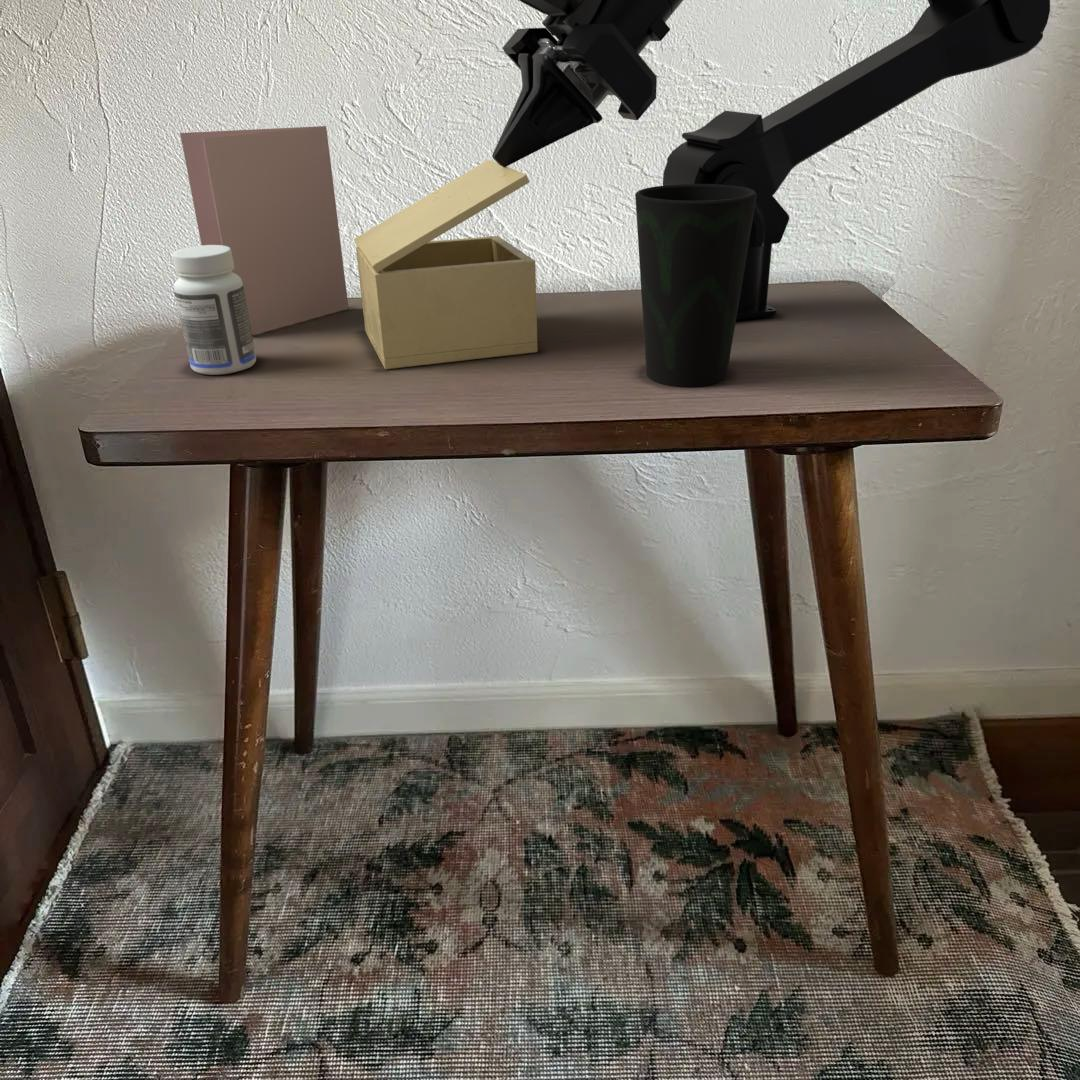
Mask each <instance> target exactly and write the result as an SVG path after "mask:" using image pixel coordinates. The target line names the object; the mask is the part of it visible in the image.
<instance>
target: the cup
mask: <svg viewBox="0 0 1080 1080" xmlns="http://www.w3.org/2000/svg"><path fill="white" fill-rule="evenodd" d="M634 197H635V198H634V199H635V214H636V228H637V229H636V230H637V245H638V260H639V274H640V276H639V277H640V291H641V292H640V293H641V306H642V323H643V337H644V340H643V341H644V355H645V372H646V377H648V379H650V380H651V381H653V382H656V383H658V384H661V385H666V386H672V387H681V388H682V387H683V388H696V387H705V386H710V385H715V384H718V383H720V382H722V381H724V380H725V379H726V378H727V376H728V370H729V364H730V358H731V351H732V348H733V347H732V346H733V341H734V335H735V328H736V324H737V323H736V322H737V320H736V317H737V311H738V305H739V299H740V293H741V287H742V281H743V275H744V269H745V263H746V257H747V251H748V245H749V239H750V233H751V227H752V221H753V215H754V209H755V203H756V197H757V194H756V193H755V191H754V190H752V189H749V188H745V187H739V186H731V185H718V184H678V185H664V186H663V185H657V186H650V187H644V188H643V189H639V190H638V191H636V192H635V193H634Z"/></svg>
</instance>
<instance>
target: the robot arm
mask: <svg viewBox="0 0 1080 1080" xmlns="http://www.w3.org/2000/svg"><path fill="white" fill-rule="evenodd" d="M518 1H519V2H521V3H523V4H524V5H527V6H528V7H531V8H532V9H534V10H535V11H538V12H539V13H542V14H544V15H545V16H546V17H545V18H544V20H543V21H542V22H541V24H542V25H543V26H544V27H527V28H517V29H516V30H515V31H514V32H513V34H512V35H511V36H510V38H509V39H508V41H506V43H504V45H503V46H502V51H503V52H504V54H505V55H506V56H507V57H508V58H509V59H510V61H512V63H514V65H515V66H516V67H517V68H518V69H519V70H520V76H521V90H520V92H519V94H518V98H517V100H516V102H515V105H514V107H513V109H512V111H511V113H510V115H509V117H508V120H507V122H506V124H505V126H504V128H503V130H502V132H501V135H500V137H499V139H498V141H497V143H496V146H495V148H494V150H493V152H492V155H491V156H492V159H493V161H494V162H497V163H498V164H499V165H500V166H502V167H508V166H511V165H512V164H515V163H516V162H518V161H520V160H522V159H524V158H526V157H528V156H530V155H532V154H534V153H536V152H538V151H540V150H542V149H543V148H545V147H548V146H550V145H552V144H554V143H556V142H558V141H560V140H562V139H564V138H566V137H568V136H570V135H572V134H574V133H576V132H579V131H581V130H583V129H585V128H587V127H589V126H591V125H593V124H598V123H600V122H601V121H602V120H603V115H601V113H600V112H599V111H598V110H597V108H599V106H600V105H601V104H602V103H603V101H604V100H605V99H606V97H607V96H615V98H617V99H618V100H619V101H620V104H619V107H618V110H617V113H618V114H619V115H620V116H621V117H622V119H625V120H630V121H631V120H632V121H638V120H640V118H641V117H642V116H643V115H644V114H645V112H646V111H647V110H648V109H649V107H650V106H651V105H652V104H653V103H654V102H655V101H656V99H657V88H658V87H657V86H658V85H657V83H658V76H657V75H656V74H655V72H654V71H653V70H652V69H651V67H650V66H649V65H648V63H646V61H645V60H644V59H643V58H642V56H641V55H640V54H641V52H643V51H644V49H645V48H646V47H647V45H648V44H649V43H650V42H661V41H663V39H664V38H665V37H666V35H667V34H668V33H669V32H670V31H671V28H670V27H669V25H668V24H667V23H666V22H667V21H668V20H670V17H671V16H673V14H674V12H675V11H676V10H677V9H678V8H679V7H680V5H681V4H682V3H683V2H684V0H518ZM927 2H928V5H929V6H928V7H926V8H925V9H924V11H923V13H922V14H921V15H920V16H919V18H918V19H917V21H916V22H915V24H914V26H913V27H912V29H910V31H909V32H907V33H905V35H903V36H902V37H900V38H898V39H897V40H895V41H893V42H891V43H889V44H887V45H886V46H884V47H883V48H881V49H879V50H877V51H876V52H873V54H871V55H869V56H867V57H866V58H864V59H861V60H860V61H858V62H857V63H855V64H853V65H852V66H850V67H848V68H847V69H845V70H843V71H842V72H840V73H838V74H837V75H835V76H832V77H831V78H830V79H828V80H826V81H825V82H823V83H821V84H819V85H818V86H815V87H814V88H813V89H811V90H809V91H807V92H806V93H804V94H802V95H800V96H798V97H797V98H795V99H794V100H791V101H790V102H789V103H787V104H785V105H783V106H782V107H779V109H777V110H775V111H773V112H771V113H770V114H768V115H766V116H764V117H763V115H762V114H758V113H749V112H741V111H732V110H724V111H722V112H721V113H719V114H718V115H715V116H714V117H713V118H712V119H711V120H710V121H709V122H708V123H706V124H704V125H703V126H702V127H701V128H698V129H696V130H694V131H688V132H687V131H686V132H683V133H682V134H681V138H682V139H684V140H685V141H684V142H682V143H680V144H679V145H678V146H676V148H675V149H673V150H672V151H671V152H670V154H669V155H668V157H667V158H666V164H665V167H664V170H663V173H662V174H663V175H662V186H664V185H678V184H718V185H731V186H739V187H745V188H749V189H752V190H754V191H755V193H756V194H757V197H756V203H755V209H754V215H753V221H752V227H751V233H750V239H749V245H748V251H747V257H746V263H745V269H744V275H743V281H742V287H741V293H740V299H739V305H738V311H737V317H736V321H737V320H748V319H756V318H764V317H765V318H766V317H774V316H777V309H776V308H774V307H772V306H770V305H769V304H768V294H769V293H768V292H769V285H770V284H769V283H770V271H771V261H772V252H773V251H772V250H773V245H774V244H779V243H781V241H782V240H783V236H784V234H785V232H786V229H787V226H788V224H789V222H790V215H789V213H788V212H787V211H786V210H785V208H783V206H782V205H781V204H780V202H778V200H777V199H776V197H774V195H775V194H776V193H777V192H778V190H779V189H780V187H781V186H782V184H783V183H784V182H785V180H786V179H787V177H788V175H789V174H790V173H791V171H792V170H793V169H794V168H795V167H797V166H798V165H799V164H801V163H803V162H804V161H806V160H808V159H809V158H812V157H813V156H815V155H817V154H818V153H820V152H821V151H823V150H825V149H827V148H828V147H830V146H832V145H833V144H835V143H837V142H839V141H840V140H842V139H843V138H845V137H847V136H849V135H850V134H853V133H854V132H855V131H857V130H859V129H861V128H862V127H864V126H866V125H867V124H869V123H871V122H872V121H875V120H876V119H878V118H880V117H882V116H884V115H885V114H886V113H888V112H889V111H892V110H893V109H895V108H896V107H898V106H900V105H902V104H903V103H905V102H907V101H908V100H910V99H912V98H913V97H915V96H917V95H919V94H920V93H922V92H924V91H926V90H927V89H929V88H931V87H932V86H934V85H936V84H937V83H939V82H941V81H943V80H946V79H948V78H951V77H957V76H960V75H964V74H968V73H972V72H976V71H980V70H984V69H990V68H992V67H995V66H998V65H1000V64H1003V63H1006V62H1009V61H1011V60H1015V59H1017V58H1019V57H1022V56H1024V55H1027V54H1028V53H1029V52H1031V51H1032V50H1033V49H1034V48H1036V47H1037V46H1038V45H1039V43H1040V42H1041V41H1042V40H1043V37H1044V31H1045V30H1046V29H1045V28H1046V26H1047V24H1048V21H1049V18H1050V13H1051V0H927ZM554 36H555V37H554Z"/></svg>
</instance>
